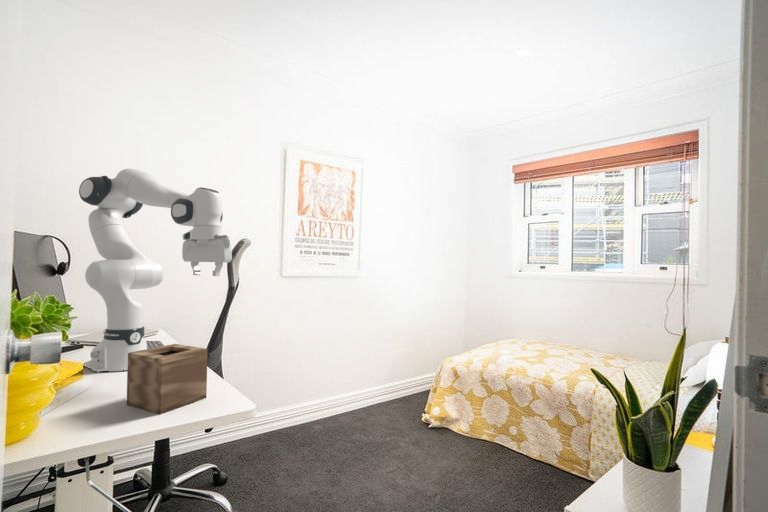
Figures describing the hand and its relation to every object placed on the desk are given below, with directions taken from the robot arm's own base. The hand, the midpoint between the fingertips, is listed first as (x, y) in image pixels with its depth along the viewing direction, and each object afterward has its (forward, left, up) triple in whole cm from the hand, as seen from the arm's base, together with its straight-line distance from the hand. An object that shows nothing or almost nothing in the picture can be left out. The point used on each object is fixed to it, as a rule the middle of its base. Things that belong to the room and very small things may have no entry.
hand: (206, 275), depth 137 cm
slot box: (+12, -22, -34) cm, 42 cm away
